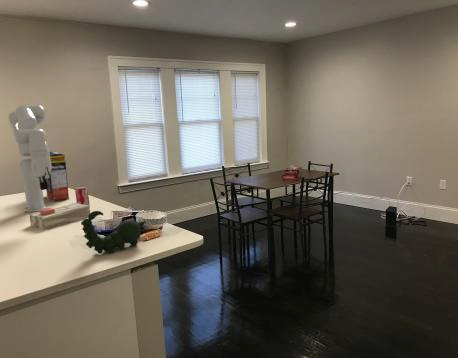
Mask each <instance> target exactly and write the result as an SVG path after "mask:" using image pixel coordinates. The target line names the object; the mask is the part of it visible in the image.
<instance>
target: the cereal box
mask: <svg viewBox="0 0 458 358" xmlns="http://www.w3.org/2000/svg"><path fill="white" fill-rule="evenodd" d="M49 154H50V159H51V165H52V169H51V171H50V175H49V178H48V179H47V184H48V189H45V190H46V191H45V192H46V196H47V197H48V198H49V199H50V200H51V201H52V202H60V201H65V200H66V201H67V200H69V199H70V196H69V185H68V174H67V173H68V172H67V162H66V156H65V154H63V153H60V152H56V151H49Z"/></svg>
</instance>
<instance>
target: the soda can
mask: <svg viewBox="0 0 458 358" xmlns="http://www.w3.org/2000/svg"><path fill="white" fill-rule="evenodd" d="M74 190H75V191H74V192H75V201H76V203H77V204H83V205H89V207H90V206H91V204H90V197H89V189H88V188H87V186H76V187H75V189H74Z"/></svg>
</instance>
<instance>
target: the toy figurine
mask: <svg viewBox="0 0 458 358" xmlns="http://www.w3.org/2000/svg"><path fill="white" fill-rule="evenodd" d="M99 215H100V216H104V215H105V214H104V213H103V212H102V211H99V210H93V211H90V214H89V216H88V217H87V218H83V221H81V225H82V226H83V227H82V231H83V232H84V233H85V234H84V235H83V238H85V239H86V240H87V242H86V243H85V245H86V246H87V247H88V248H90V249H92V248H94V251H95V252H97V253H98V254H99V255H101V254H103V251H105V252H108V253H109V254H113V253H114V252H115V249H116V248H118V249H119V250H124V249H125V247H126V245H125V244H130V246H137V245H138V244H139V241H138V239H140V237H141V228H142V227H143V226H144V225H145V223H146V220H143V221H138V222H137V221H135V220H132V219H127V220H123V221H122V222H121V223H119V225H118V226H117V228H116V230H113V232H111V233H109V235H106V236H103V237H101V236H100V235H99V234H98V232H97V231H96V230H95V226H94V225H93V220H94V219H95V218H96V217H97V216H99Z"/></svg>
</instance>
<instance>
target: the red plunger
mask: <svg viewBox="0 0 458 358" xmlns="http://www.w3.org/2000/svg"><path fill="white" fill-rule="evenodd" d="M39 212H40V214H41V215H48V214H52V213H55V211H54V209H53V208H51V207H48V208H47V209H43V210H40V211H39Z"/></svg>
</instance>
